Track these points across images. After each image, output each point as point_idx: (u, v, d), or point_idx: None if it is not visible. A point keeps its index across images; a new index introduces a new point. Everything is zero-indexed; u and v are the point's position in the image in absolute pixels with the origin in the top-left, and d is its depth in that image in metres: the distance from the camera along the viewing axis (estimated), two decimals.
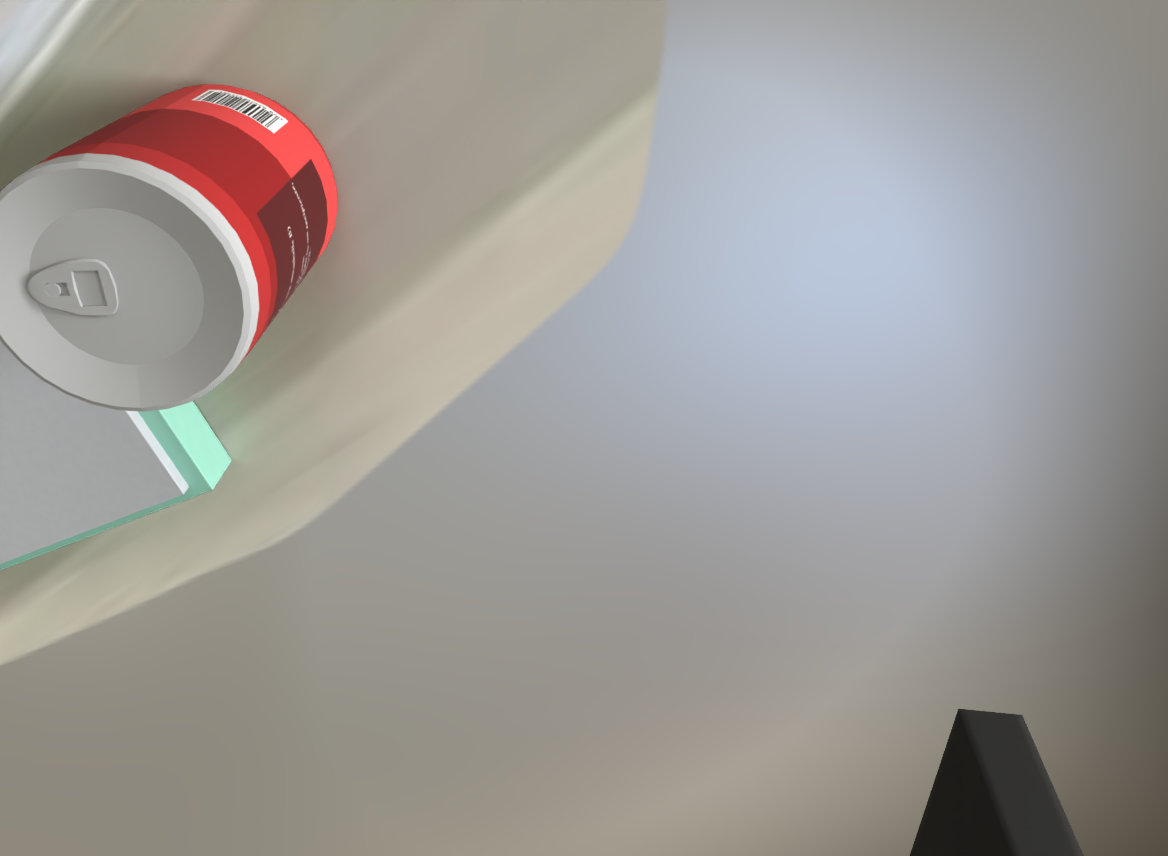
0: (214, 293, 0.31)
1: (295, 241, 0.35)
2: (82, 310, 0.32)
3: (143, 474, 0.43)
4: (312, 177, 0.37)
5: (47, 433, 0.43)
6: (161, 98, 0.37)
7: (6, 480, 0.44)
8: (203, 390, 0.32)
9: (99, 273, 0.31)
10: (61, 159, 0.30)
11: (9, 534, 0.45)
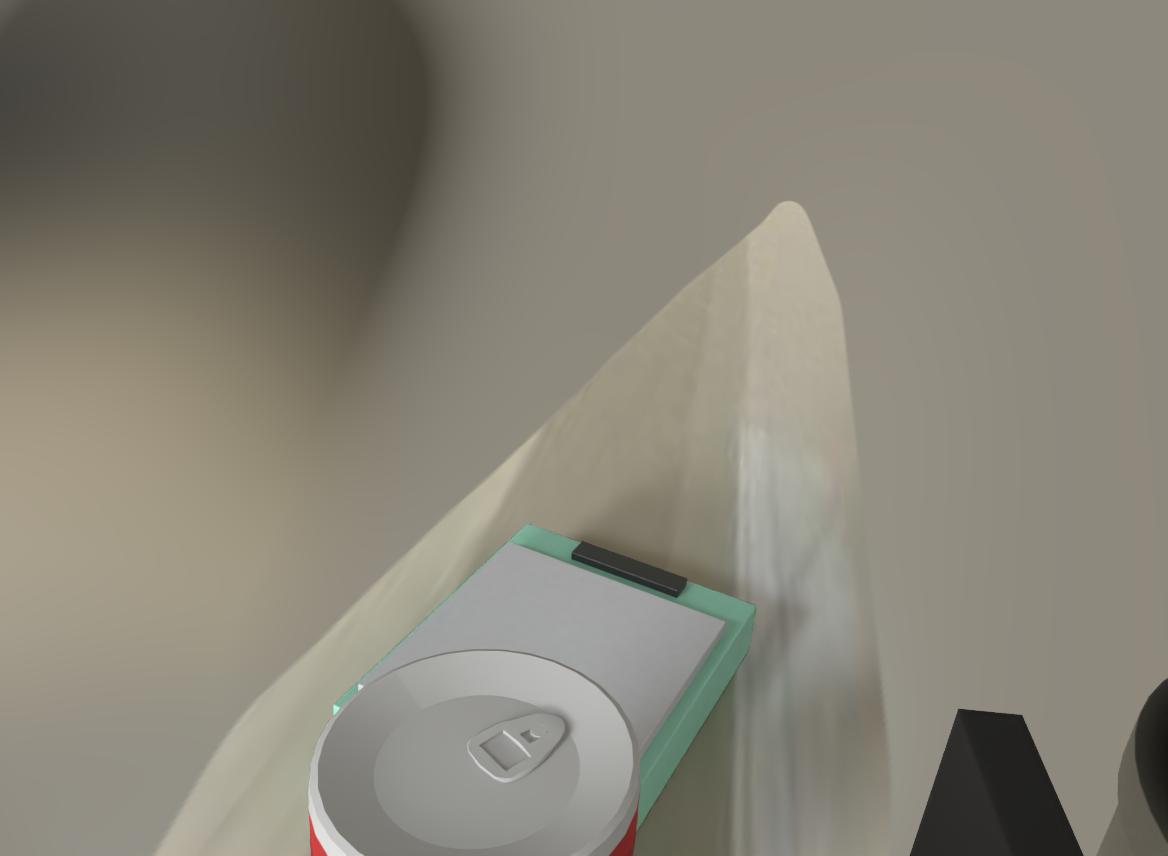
0: (370, 817, 0.25)
1: None
2: (501, 728, 0.27)
3: None
4: None
5: None
6: None
7: (525, 619, 0.43)
8: (336, 717, 0.27)
9: (502, 768, 0.26)
10: (601, 854, 0.24)
11: (498, 580, 0.45)
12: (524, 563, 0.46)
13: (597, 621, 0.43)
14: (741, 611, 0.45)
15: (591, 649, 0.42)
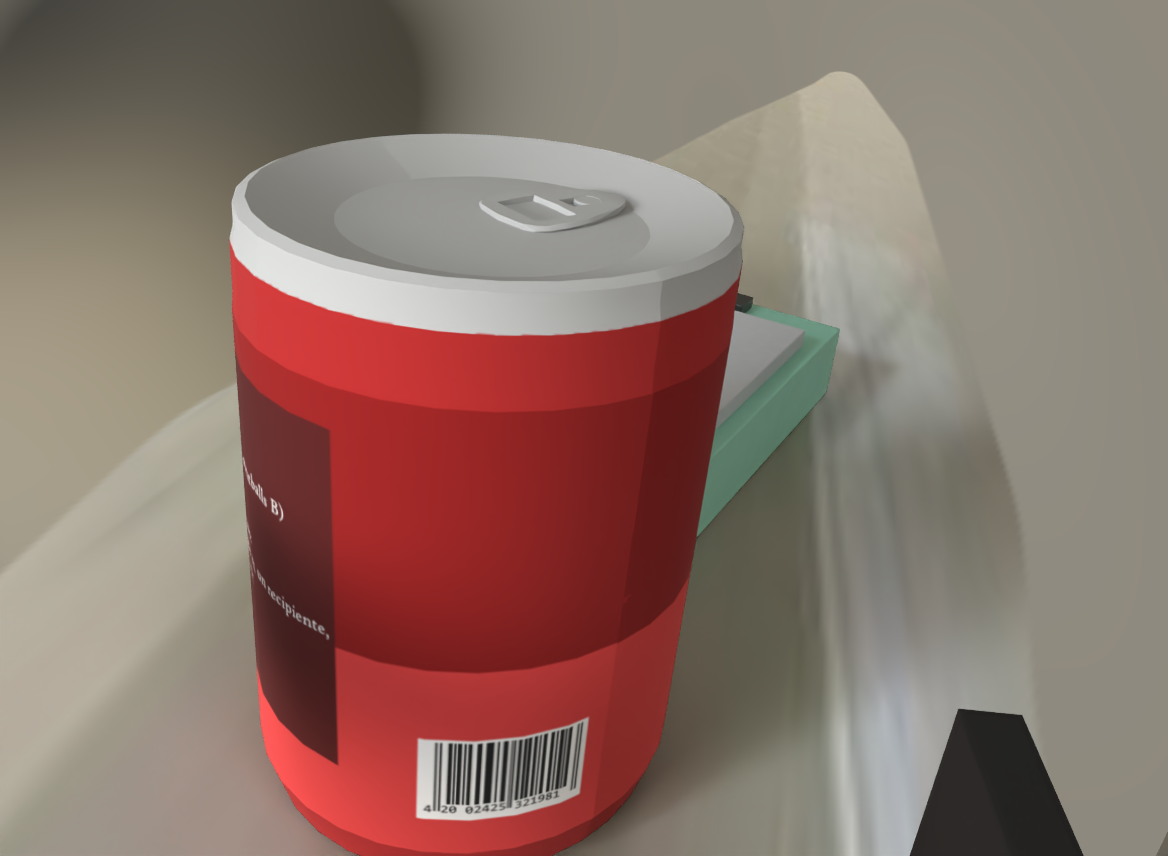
0: (324, 236, 0.16)
1: (263, 516, 0.17)
2: (530, 198, 0.18)
3: None
4: (314, 719, 0.18)
5: None
6: (641, 727, 0.19)
7: None
8: (283, 157, 0.18)
9: (532, 220, 0.17)
10: (690, 296, 0.15)
11: None
12: None
13: None
14: (821, 331, 0.36)
15: None
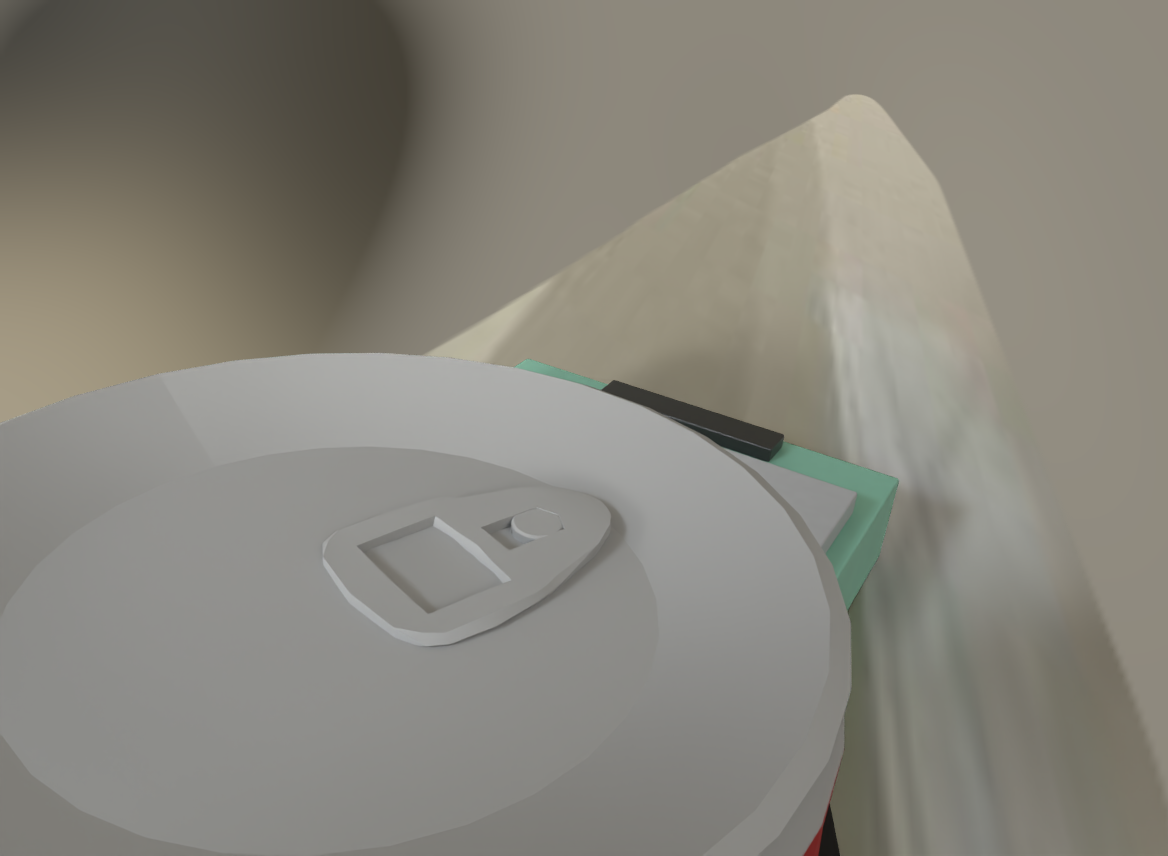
0: None
1: None
2: (429, 515, 0.10)
3: None
4: None
5: None
6: None
7: None
8: None
9: (419, 608, 0.08)
10: None
11: None
12: None
13: None
14: (876, 485, 0.27)
15: None
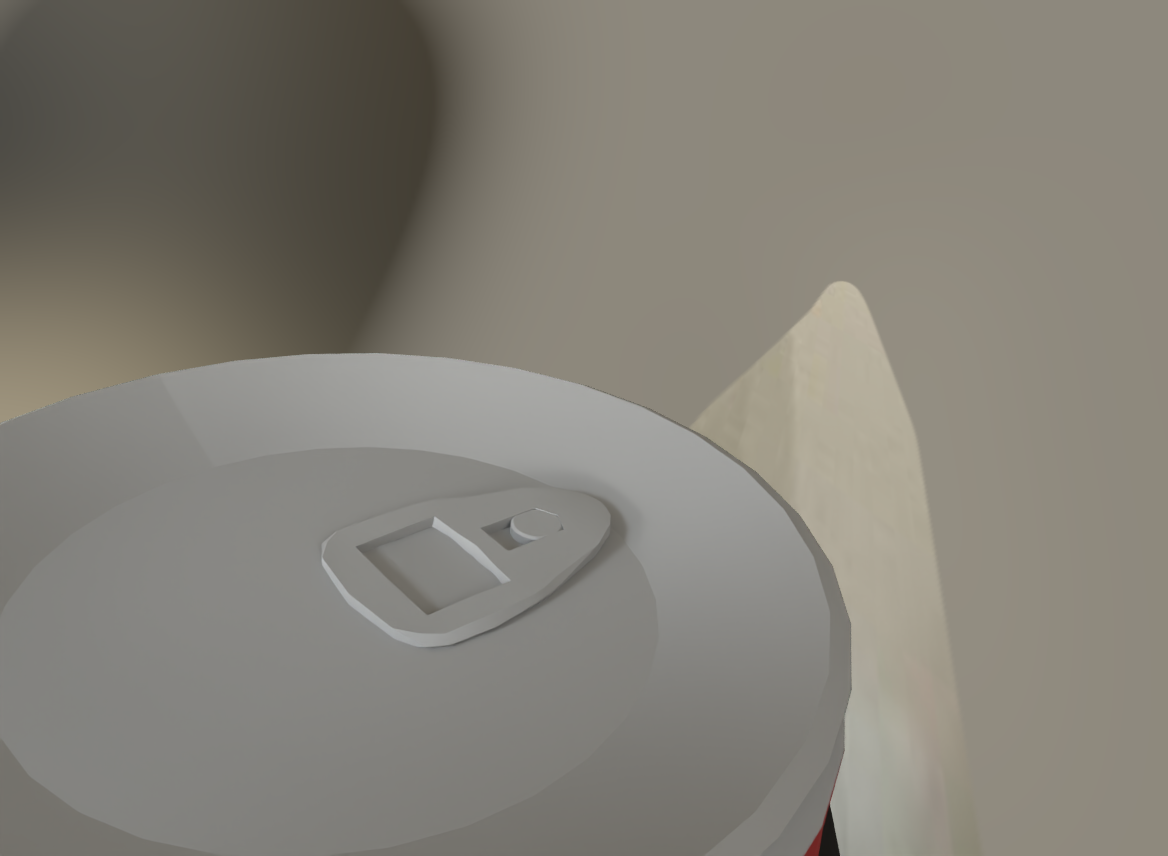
0: None
1: None
2: (428, 516, 0.10)
3: None
4: None
5: None
6: None
7: None
8: None
9: (417, 608, 0.08)
10: None
11: None
12: None
13: None
14: None
15: None
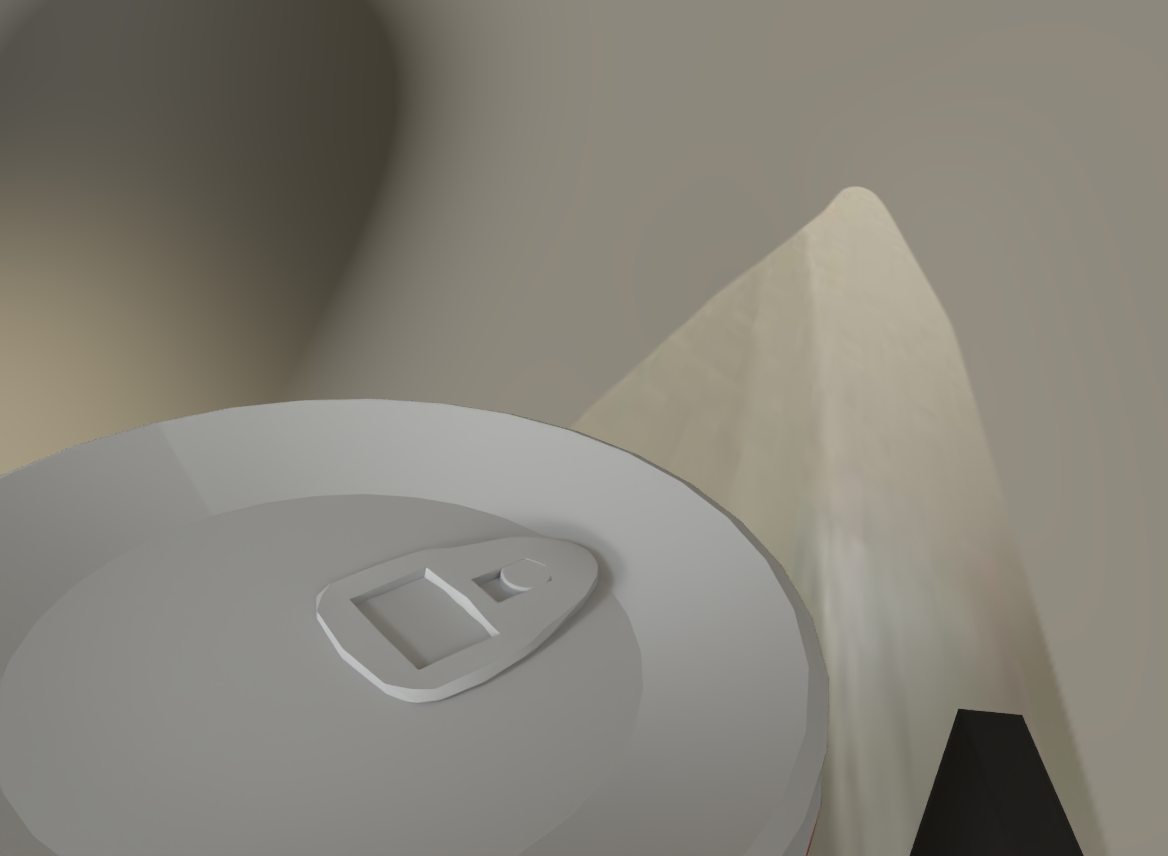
0: None
1: None
2: (421, 566, 0.10)
3: None
4: None
5: None
6: None
7: None
8: None
9: (410, 663, 0.09)
10: None
11: None
12: None
13: None
14: None
15: None
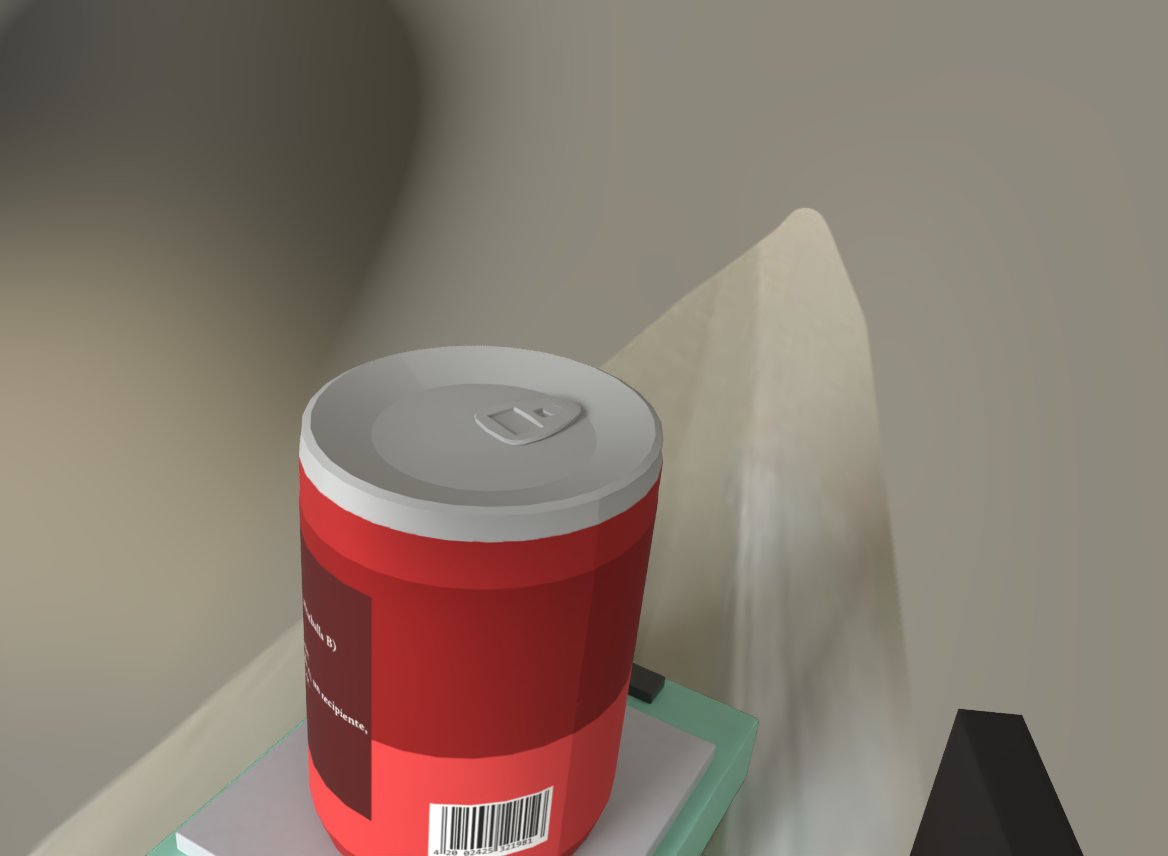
0: (367, 458, 0.22)
1: (320, 646, 0.24)
2: (511, 407, 0.25)
3: (246, 830, 0.27)
4: (354, 788, 0.25)
5: None
6: (593, 789, 0.26)
7: None
8: (333, 381, 0.25)
9: (512, 433, 0.24)
10: (620, 504, 0.22)
11: None
12: None
13: None
14: (738, 727, 0.33)
15: None
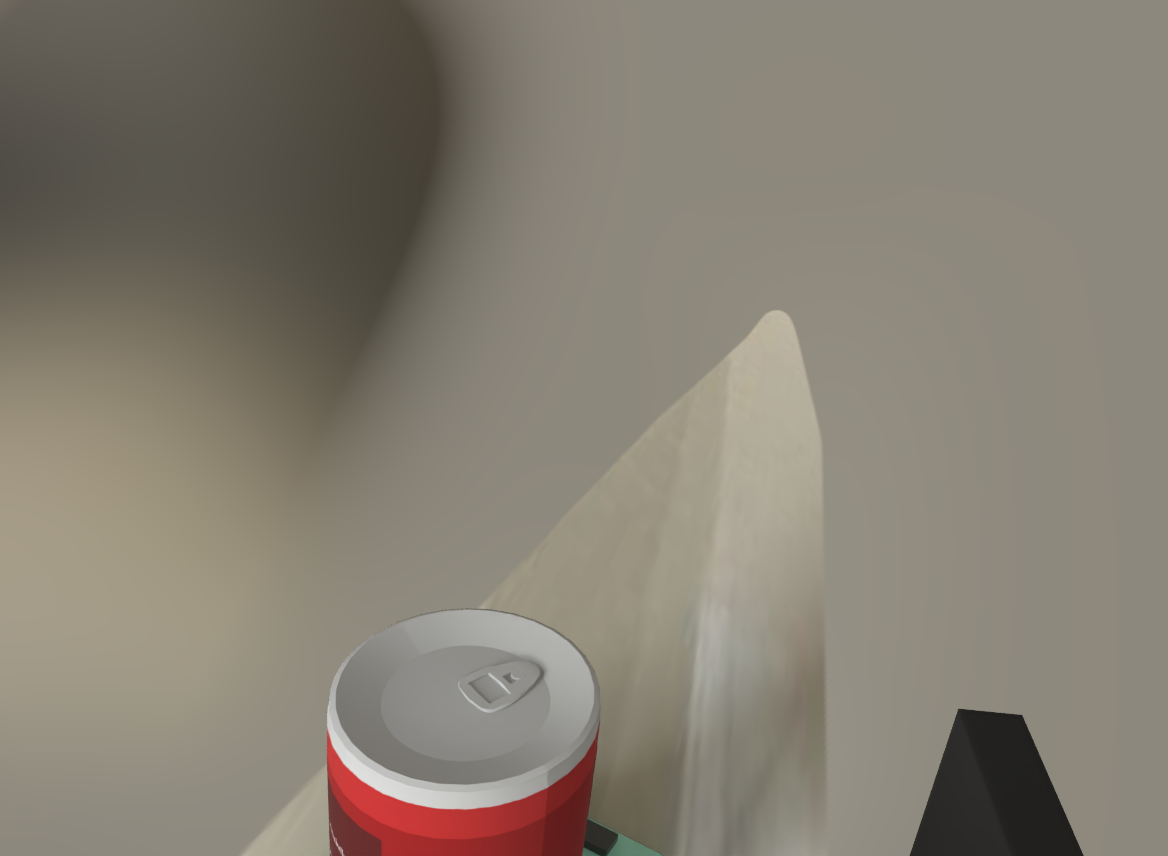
0: (377, 733, 0.30)
1: None
2: (486, 671, 0.33)
3: None
4: None
5: None
6: None
7: None
8: (351, 656, 0.33)
9: (486, 701, 0.32)
10: (564, 769, 0.30)
11: None
12: None
13: None
14: None
15: None
